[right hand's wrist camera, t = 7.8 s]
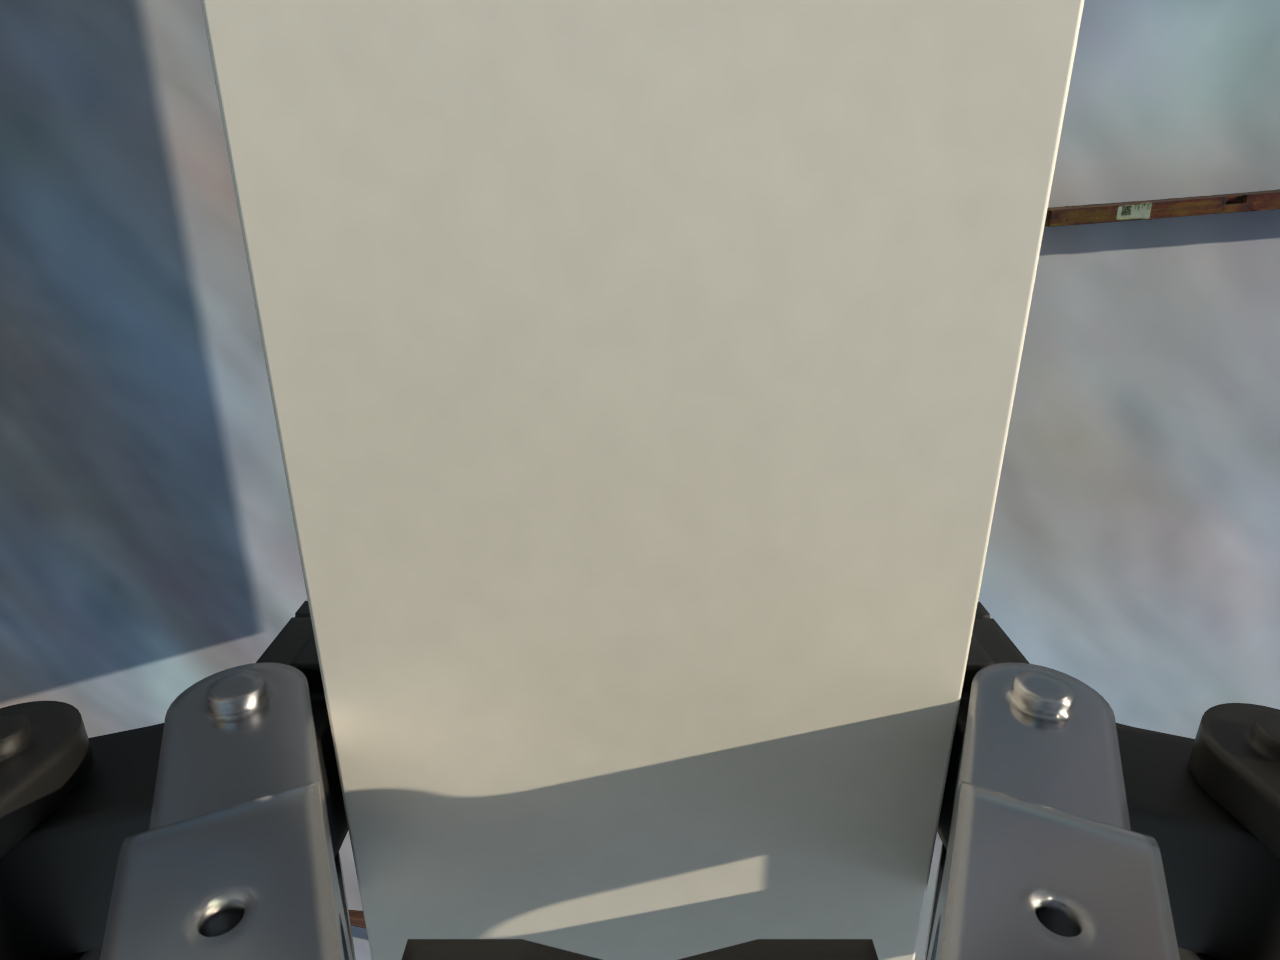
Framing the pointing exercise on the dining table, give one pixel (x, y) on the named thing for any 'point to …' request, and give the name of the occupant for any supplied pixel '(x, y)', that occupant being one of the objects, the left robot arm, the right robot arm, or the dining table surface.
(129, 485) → the dining table surface
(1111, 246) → the dining table surface
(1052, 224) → the brown thin rod
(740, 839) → the box
